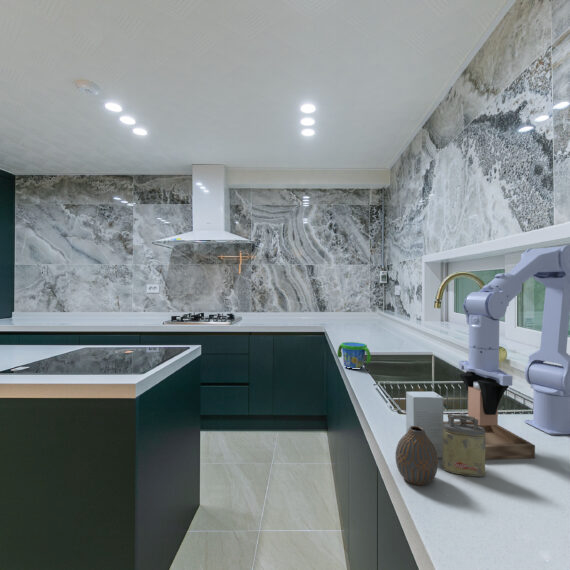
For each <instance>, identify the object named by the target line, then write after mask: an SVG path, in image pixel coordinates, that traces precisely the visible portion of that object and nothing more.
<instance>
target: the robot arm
mask: <svg viewBox="0 0 570 570" xmlns="http://www.w3.org/2000/svg"><path fill="white" fill-rule="evenodd" d="M530 278H532V279H534V280H535V281H536V282H538V283H541V284H542V285H543V286H544V287H545V292H544V301H543V302H544V303H543V313H542V325H541V336H540V347H539V350H537V351H535V352H533V353H531V354H530V355H528V359H527V360H528V361H527V363H526V366H525V368H524V377H525V380H526V382H527V384H528V385H530V386H529V387H530V388H529V389H533V405H532V406H533V407H532V408H533V409H532V410H533V411H532V412H533V415H532V416H533V417H532V419H525V420H524V421H523V422H524V423H525V424H528V425H530V426H532V427H533V428H536V429H537V430H540V431H542V432H544V433H546V434H548V435H555V436H556V435H570V354H569V353H567V349H568V348H567V347H568V337H569V325H570V244H565V245H560V246H550V247H541V248H540V247H539V248H538V247H537V248H527V249H526V250H525V251H524V252H522V253H521V255H520V261H519V262H518V263H517V264H516V265H515V266H514V267H513V268H512V269H511V270H510V271H509V272H502V273H501V272H500V273H496V274H495V275H494V278H493V279H491V281H489V283H487V284H485V285H484V286H482V288H481V289H480V290H479V291H473V292H472V291H471V292H470V293H469V294H468V295H467V296H465V299H464V300H463V303H462V310H463V313H464V315H465V317H466V323H467V325H468V360H459V361H458V363H459V365H458V367H459V368H458V369H459V370H462V371H466V372H464V373H463V372H462V373H459V374H460V375H459V377H460V378H461V381H462V382H463V385H464V387H465V390H466V393H467V394H468V387H473V382H476V381H477V382H478V384H479V386H480V389H481V393H482V398H483V409H484V413H485V414H486V415H495V414H496V411H497V408H498V409H499V405H500V402H501V400H502V397H503V396H504V394H505V393H506V391H507V390H508V388H509V387H511V386H513V375H511V374H508V373H506V372H505V371H503V370H502V369H500V319H502V318H504V316H505V315H506V312H507V309H508V306H509V305H510V302H511V301H512V300H513V299H514V298H515V297H517V296H518V295H519V294H520V293H521V292H522V290H523V285H522V284H524V283H526V282H527V281H528V280H529V279H530Z"/></svg>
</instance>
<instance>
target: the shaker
mask: <svg viewBox="0 0 570 570" xmlns="http://www.w3.org/2000/svg"><path fill="white" fill-rule="evenodd" d="M467 399H468V400H467V416H470V417H473V418H474V417H475V419H478V425H480V426H482V425H499V423H498V418H499V416H498V415H499V414H498V412H499V407H498V408H497V411H496V414H495V415H486V414H485V413H484V409H483V398H482V393H481V389H480V386H479V384H478V382H477V381H476V382H473V387H468V393H467Z"/></svg>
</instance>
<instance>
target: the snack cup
mask: <svg viewBox="0 0 570 570" xmlns="http://www.w3.org/2000/svg"><path fill="white" fill-rule="evenodd" d="M365 355H367V356H366V364H369V363H371V361H372V355H371V352H370V350H369V348H368V346H367V344H366V343H361V342H354V341H352V342H351V341H350V342H349V341H348V342H347V341H346V342H342V343H340V345H339V346H338V349H337V357H338V358H342V359H343V365H344V366H346V367H350V368H361V367H362V368H363V367H364V361H365Z"/></svg>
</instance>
